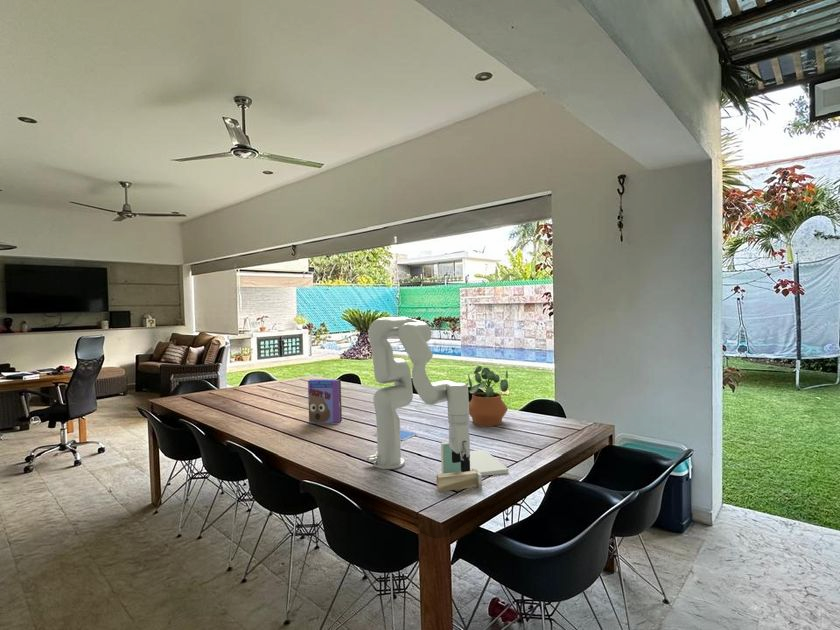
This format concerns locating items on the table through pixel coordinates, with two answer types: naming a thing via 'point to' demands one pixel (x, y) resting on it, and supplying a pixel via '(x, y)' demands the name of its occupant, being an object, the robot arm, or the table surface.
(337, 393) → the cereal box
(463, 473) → the beige upright post
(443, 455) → the tile
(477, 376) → the potted plant
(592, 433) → the table surface
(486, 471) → the white rectangular board
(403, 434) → the tablet computer
